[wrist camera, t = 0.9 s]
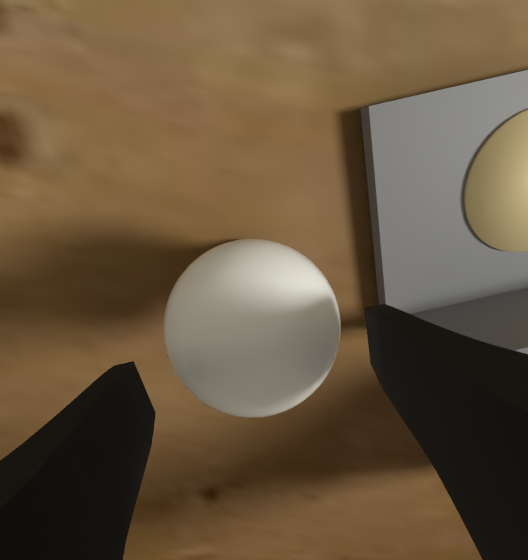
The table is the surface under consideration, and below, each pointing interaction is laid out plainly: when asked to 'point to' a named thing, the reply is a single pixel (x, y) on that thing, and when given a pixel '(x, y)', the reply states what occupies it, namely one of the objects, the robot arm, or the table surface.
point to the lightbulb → (252, 328)
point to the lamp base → (453, 207)
